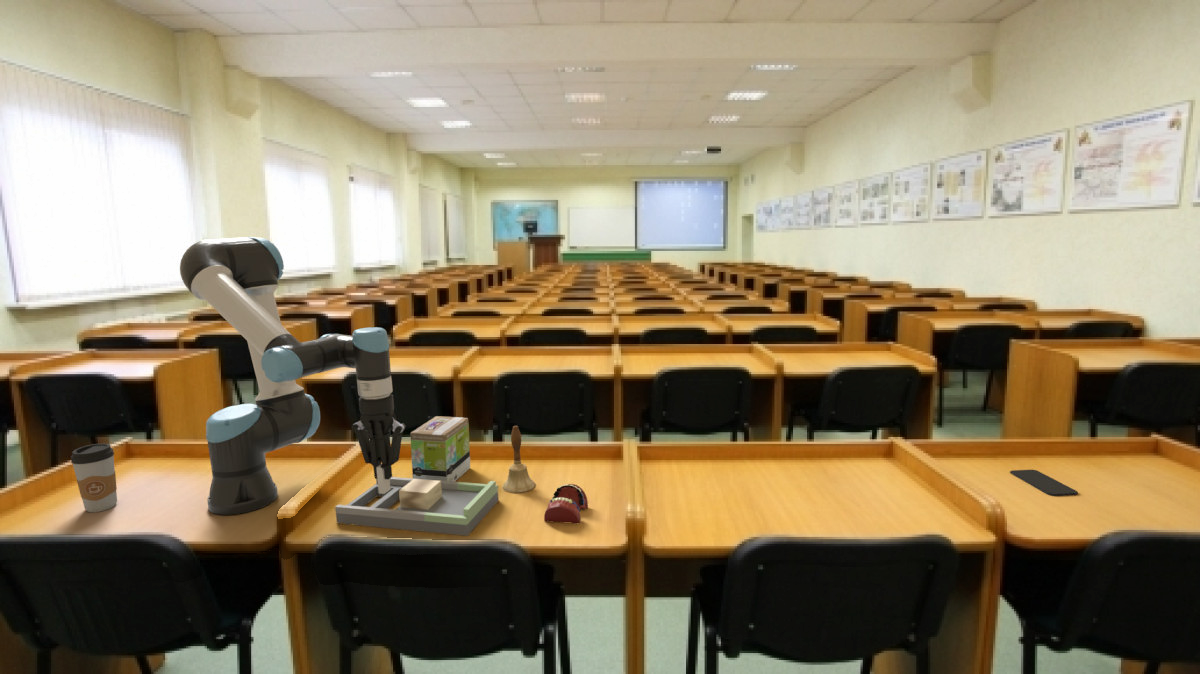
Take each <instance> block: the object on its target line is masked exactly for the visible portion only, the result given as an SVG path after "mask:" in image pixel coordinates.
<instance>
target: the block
mask: <svg viewBox="0 0 1200 674" xmlns="http://www.w3.org/2000/svg"><path fill="white" fill-rule="evenodd" d="M412 479H413V478H412ZM441 497H442V489H441V481H437V480H424V479H413V480H412V481H411V482H409V483H408V484H407V485H405V486H404V487H403V488H402V489H400V490H399V498H400V499H399V506H400V507H406V508H417V509H429V508H430V507H431V506H432V505H433V504H435V503H436V502H437V501H438V500H439V499H440V498H441Z"/></svg>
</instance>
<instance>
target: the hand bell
mask: <svg viewBox="0 0 1200 674" xmlns="http://www.w3.org/2000/svg"><path fill="white" fill-rule="evenodd" d="M510 441H511V446H512V448H513V464H511V465H510V466H509V467H508V476H507V479H506V480H505V482H503V485H502V489H503V491H504V492H508V493H511V494H512V493H513V494H520V493H521V494H522V493H525V492H528V491H531V490H533V489H534V488H535V487H536V482H535V481H534V480H533V479H532V478H531V477H530V475H529V472H528V467H527V465H526V464H525V463H522V458H521V446H522V434H521V432H520V429H519V426H518V425H514V426H512V430H511V435H510Z"/></svg>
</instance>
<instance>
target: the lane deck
mask: <svg viewBox="0 0 1200 674" xmlns="http://www.w3.org/2000/svg"><path fill="white" fill-rule="evenodd" d="M375 480H376V483H375V484H374V485H372V486H371V487H369V488H368V489H366V491H364V492H362V493H361V494H360V495H358V496H357V497H355V498H354V499H353V500H351V501H350V502H349V503H348V504H337V505H335V506H334V507H335V508H334V510H335V517H336V518H335V519H336V523H337V522H338V523H337V524H339V523H345V524H344V525H350V524H354V525H353V526H360V525H363V526H364V527H372V528H373V527H374V528H381V529H392V530H393V529H394V530H403V531H404V530H405V531H414V532H424V533H435V534H436V533H437V534H445V535H454V536H466V537H468V536H469V535H470V534H471V533H472V532H473V530H474V529H475V528H476V527H477V526H478V525H479V524H480V522H481V521H482V520H483V519H484V518H485V516H486V515H487V514H489V512H490V511H491V510H492V509H493V508H494V506H496V504H497V503H498V502H499V486H498V484H497V483H496V482H497V481H496V480H490V481H489V482H488V483H486V484H485V483H474V482H465V481H464V482H462V481H461V482H460V481H455V482H452V481H441V489H442V497H441V498H440V499H439V500H438V501H437V502H436V503H435V504H433V505H432V506H431V507H430V508H429V509H417V508H406V507H400V505H399V506H397V507H396V508H395V509H394V508H390V507H392V506H393V505H394V504H395V503H397V502H398V501H400V498H399V490H400V489H402V488H403V487H404V486H405V485H407V484H408V483H409V482H411V481H412V480H413V477H411V478H410V477H409V478H408V477H397V476H392V477H391V478H390V488H391V489H390V490H389V491H388V492H386V493H385V494H379V490H378V480H377V479H375ZM424 480H425V479H424ZM437 481H438V480H437ZM376 497H381V498H379V499H378V500H377V501H376V502H374V503H373V504H372V505H371V506H366V505H367V504H369V503H370V502H372V501H373V499H375V498H376Z"/></svg>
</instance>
